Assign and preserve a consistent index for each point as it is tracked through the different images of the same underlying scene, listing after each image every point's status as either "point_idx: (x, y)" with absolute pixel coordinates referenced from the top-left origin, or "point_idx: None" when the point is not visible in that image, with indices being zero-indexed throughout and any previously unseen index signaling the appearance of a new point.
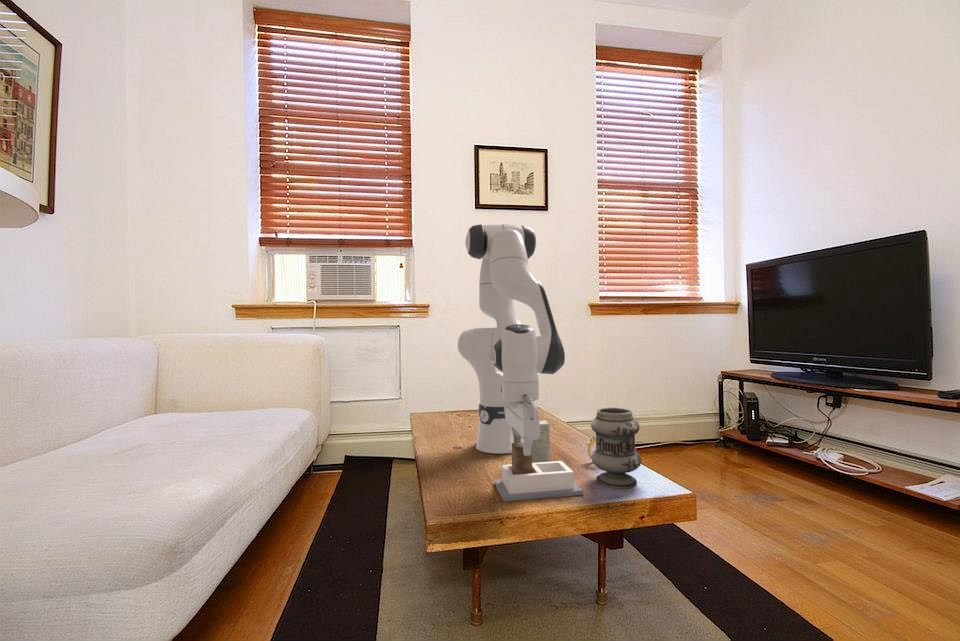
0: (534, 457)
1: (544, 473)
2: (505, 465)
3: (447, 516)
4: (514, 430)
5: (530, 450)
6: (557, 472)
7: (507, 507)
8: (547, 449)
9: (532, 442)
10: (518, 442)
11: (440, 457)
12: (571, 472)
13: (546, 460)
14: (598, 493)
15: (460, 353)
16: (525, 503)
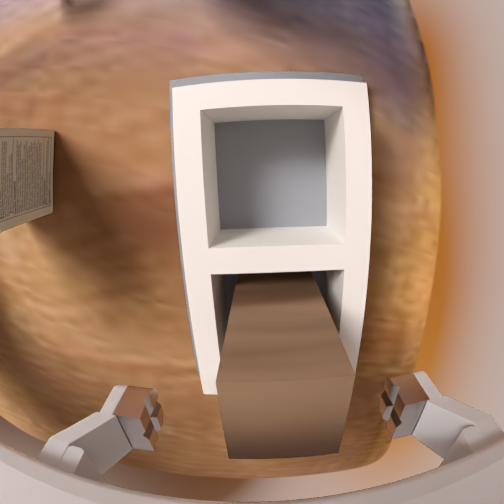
0: (29, 196)
1: (362, 240)
2: (211, 383)
3: (375, 450)
4: (100, 459)
5: (433, 388)
6: (360, 166)
7: (388, 352)
8: (9, 138)
9: (484, 414)
10: (224, 430)
11: (31, 417)
12: (367, 95)
13: (39, 144)
14: (348, 27)
15: None
16: (382, 302)
